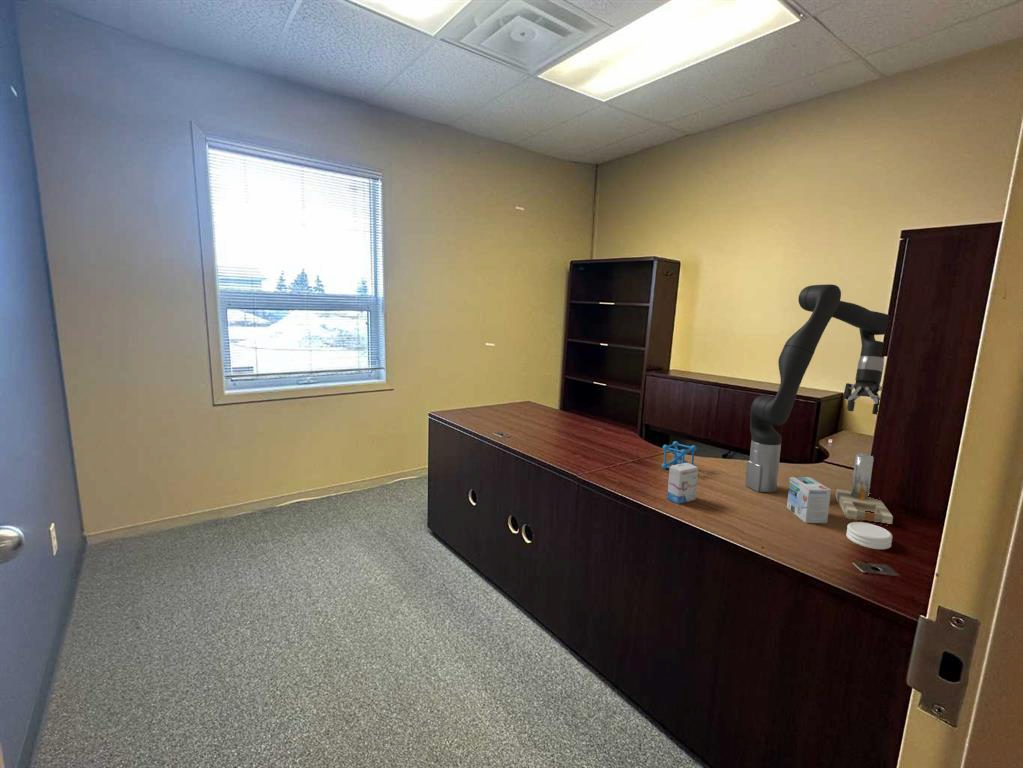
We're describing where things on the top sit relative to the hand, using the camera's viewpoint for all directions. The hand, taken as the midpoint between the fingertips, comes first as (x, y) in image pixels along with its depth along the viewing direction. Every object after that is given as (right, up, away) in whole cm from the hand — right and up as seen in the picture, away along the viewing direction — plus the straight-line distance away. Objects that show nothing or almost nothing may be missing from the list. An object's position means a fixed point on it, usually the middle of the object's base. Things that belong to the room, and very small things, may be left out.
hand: (862, 412), depth 171 cm
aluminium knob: (-16, -26, -20) cm, 37 cm away
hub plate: (-18, -30, -24) cm, 42 cm away
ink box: (-73, -29, -15) cm, 79 cm away
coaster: (-31, -33, -42) cm, 62 cm away
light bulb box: (-38, -31, -27) cm, 56 cm away
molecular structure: (-63, -24, +14) cm, 69 cm away
